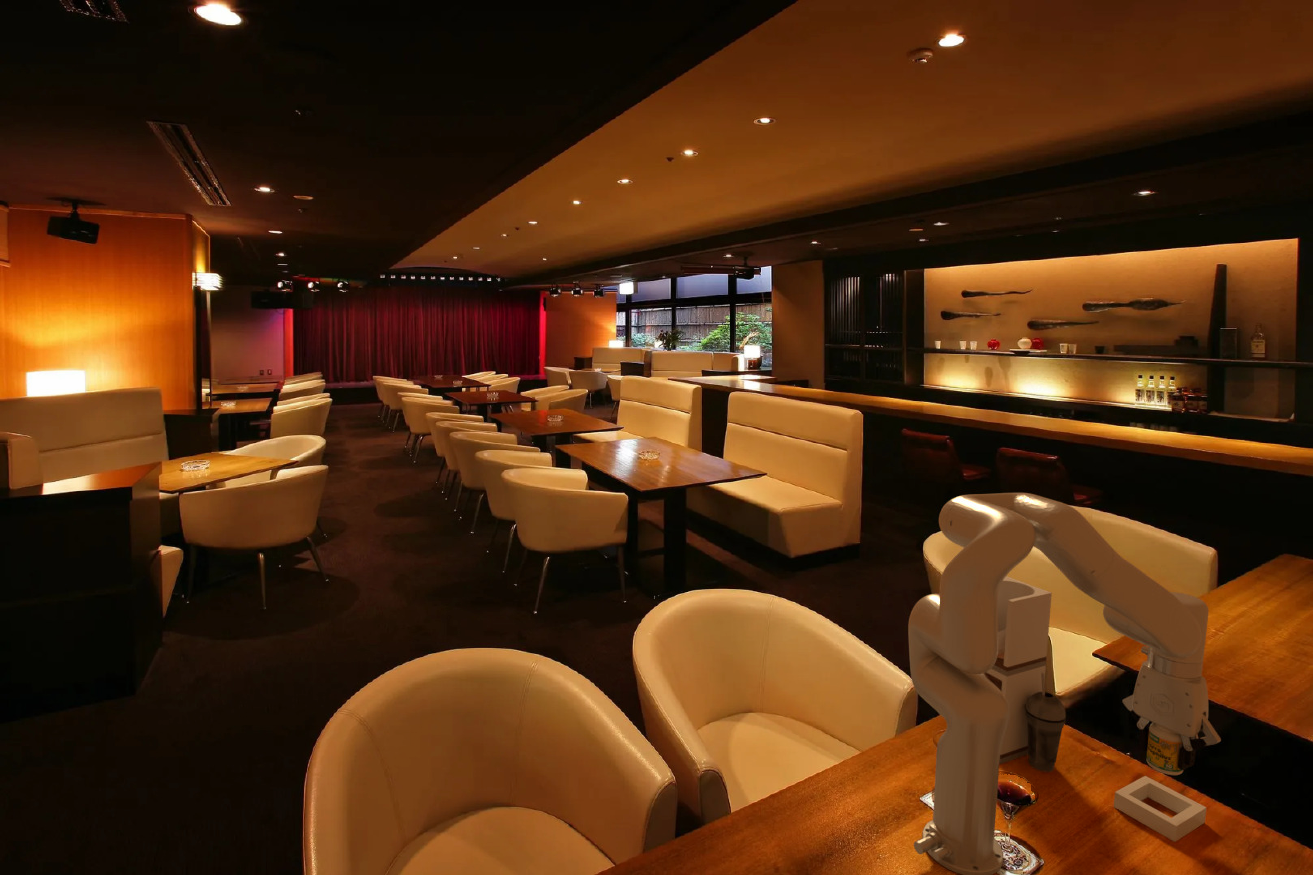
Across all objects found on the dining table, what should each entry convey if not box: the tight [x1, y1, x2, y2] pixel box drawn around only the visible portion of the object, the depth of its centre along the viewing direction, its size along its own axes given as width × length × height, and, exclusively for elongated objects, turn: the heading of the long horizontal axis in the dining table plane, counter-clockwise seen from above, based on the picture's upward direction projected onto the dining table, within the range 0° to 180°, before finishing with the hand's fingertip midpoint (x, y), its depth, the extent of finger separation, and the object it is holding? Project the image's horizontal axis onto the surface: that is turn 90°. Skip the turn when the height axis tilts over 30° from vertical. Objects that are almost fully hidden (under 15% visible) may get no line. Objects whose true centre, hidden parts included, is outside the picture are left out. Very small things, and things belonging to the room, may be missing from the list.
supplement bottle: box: [1146, 723, 1184, 776], centre depth 120 cm, size 5×5×10 cm
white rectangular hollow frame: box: [1113, 775, 1207, 843], centre depth 122 cm, size 10×10×3 cm
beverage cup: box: [1025, 673, 1067, 773], centre depth 135 cm, size 7×7×20 cm
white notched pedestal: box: [981, 575, 1053, 765], centre depth 142 cm, size 11×11×35 cm
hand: (1165, 756), depth 121 cm, fingers closed on supplement bottle, 5 cm apart
